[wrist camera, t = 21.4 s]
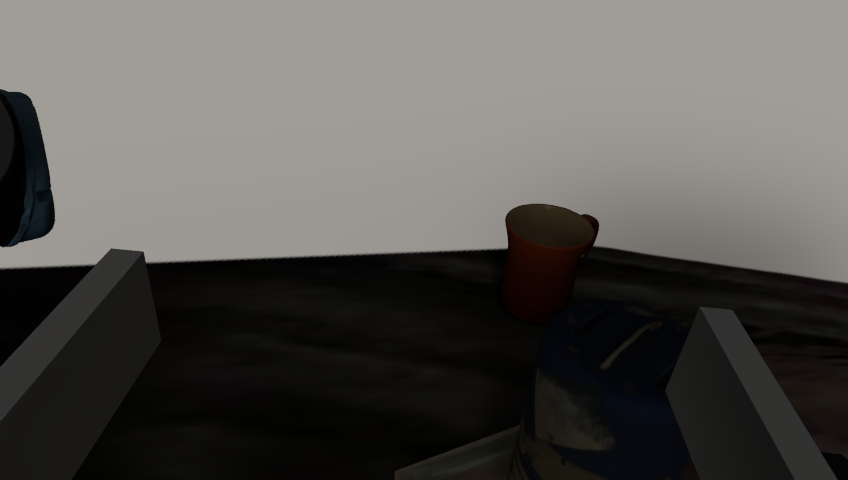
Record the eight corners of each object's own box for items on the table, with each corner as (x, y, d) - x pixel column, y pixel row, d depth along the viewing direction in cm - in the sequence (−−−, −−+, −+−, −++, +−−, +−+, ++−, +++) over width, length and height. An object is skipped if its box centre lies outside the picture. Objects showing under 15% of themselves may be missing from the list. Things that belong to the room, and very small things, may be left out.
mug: (531, 344, 59) (551, 257, 53) (474, 297, 65) (487, 215, 59) (609, 306, 65) (634, 225, 60) (551, 267, 71) (569, 190, 66)
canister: (472, 500, 42) (511, 298, 33) (574, 453, 46) (635, 262, 37) (558, 631, 35) (638, 422, 26) (669, 562, 39) (773, 361, 30)
